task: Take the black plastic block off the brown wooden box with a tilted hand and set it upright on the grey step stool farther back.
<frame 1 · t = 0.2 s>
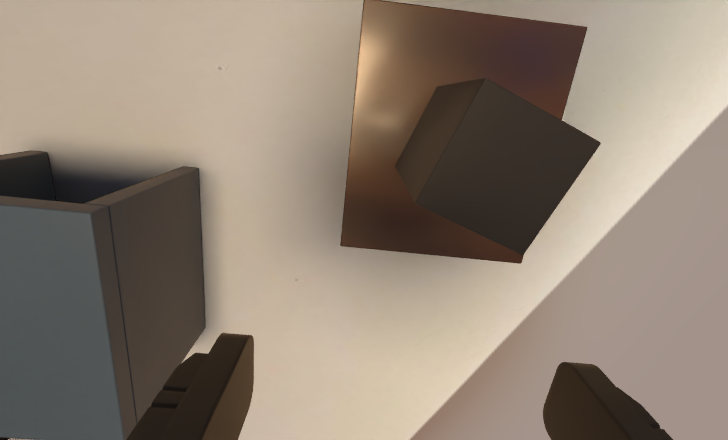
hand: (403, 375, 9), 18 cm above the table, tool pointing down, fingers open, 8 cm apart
black block: (452, 147, 21), point 5 cm above the table, touching brown wooden box
brown wooden box: (435, 138, 25), on the table
grey step stool: (126, 247, 28), on the table
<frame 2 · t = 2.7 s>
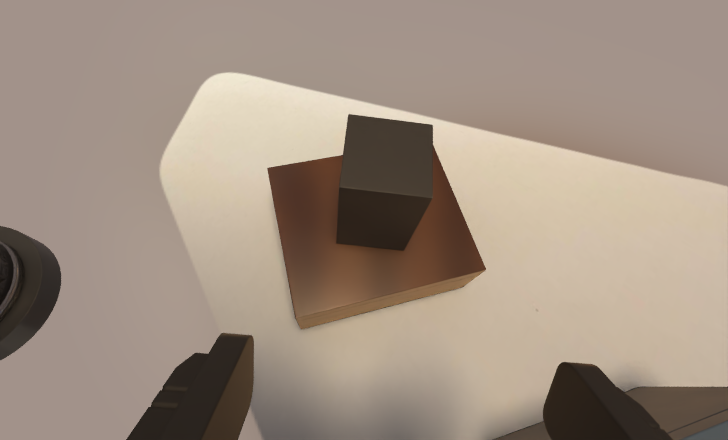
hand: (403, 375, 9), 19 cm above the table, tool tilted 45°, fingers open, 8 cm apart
black block: (372, 216, 27), point 5 cm above the table, touching brown wooden box
brown wooden box: (366, 241, 31), on the table
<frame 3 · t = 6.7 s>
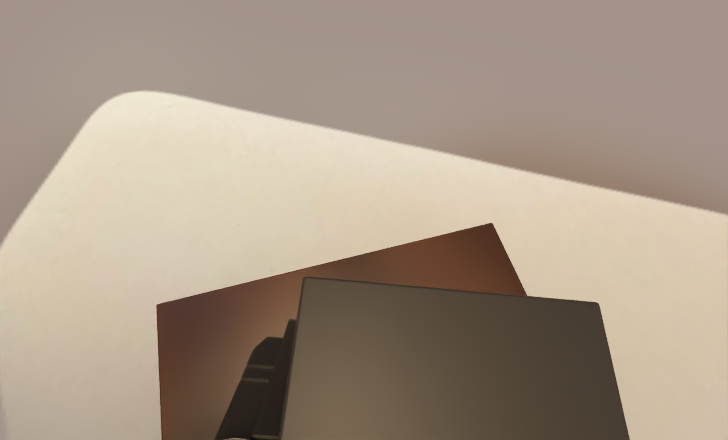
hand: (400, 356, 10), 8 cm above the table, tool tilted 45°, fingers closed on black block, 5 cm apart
black block: (383, 421, 12), point 5 cm above the table, touching gripper, brown wooden box
brown wooden box: (369, 413, 16), on the table
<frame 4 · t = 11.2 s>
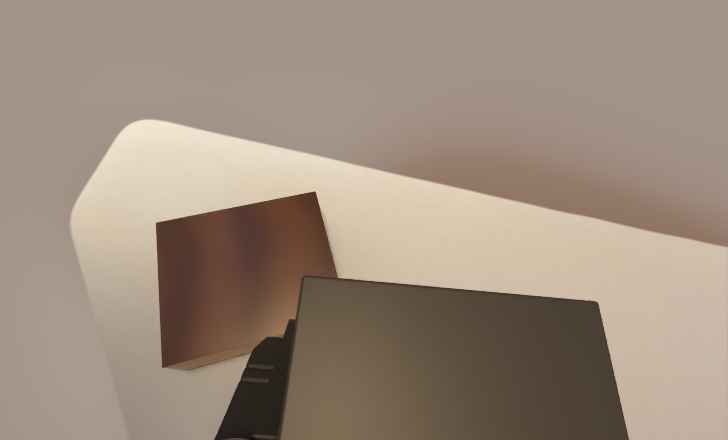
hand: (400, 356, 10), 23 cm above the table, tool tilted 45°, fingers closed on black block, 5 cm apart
black block: (383, 421, 12), point 20 cm above the table, touching gripper
brown wooden box: (259, 284, 34), on the table
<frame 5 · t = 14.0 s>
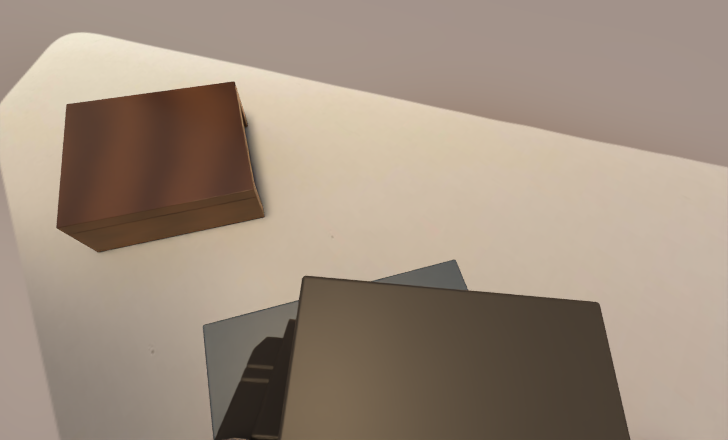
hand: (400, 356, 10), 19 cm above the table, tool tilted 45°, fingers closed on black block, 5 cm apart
black block: (383, 421, 12), point 16 cm above the table, touching gripper
brown wooden box: (180, 177, 33), on the table
grey step stool: (355, 402, 26), on the table
when the fingers open (14 cm above the table, at t = 15.9 s): black block stays where it is, resting on grey step stool.
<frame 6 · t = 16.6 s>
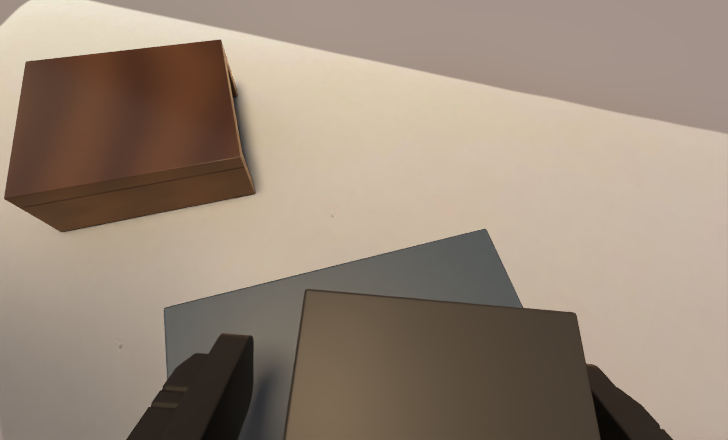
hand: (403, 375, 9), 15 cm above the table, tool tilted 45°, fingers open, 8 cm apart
black block: (381, 422, 12), point 11 cm above the table, touching grey step stool
brown wooden box: (159, 150, 29), on the table
grey step stool: (359, 406, 22), on the table
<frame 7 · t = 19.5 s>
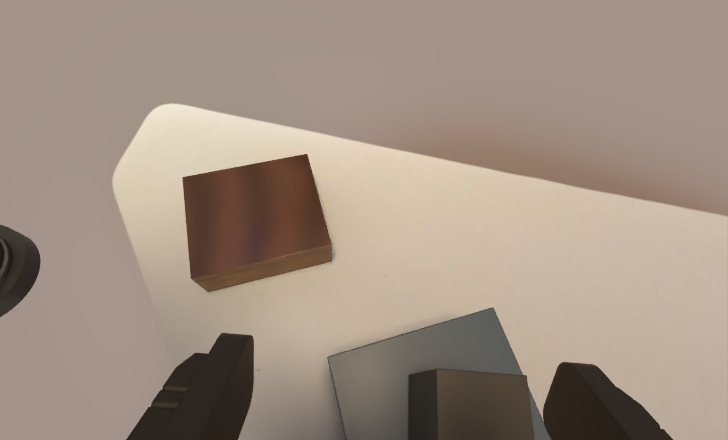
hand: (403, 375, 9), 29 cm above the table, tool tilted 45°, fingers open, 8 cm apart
black block: (442, 415, 25), point 11 cm above the table, touching grey step stool
brown wooden box: (263, 229, 42), on the table
grey step stool: (412, 407, 35), on the table
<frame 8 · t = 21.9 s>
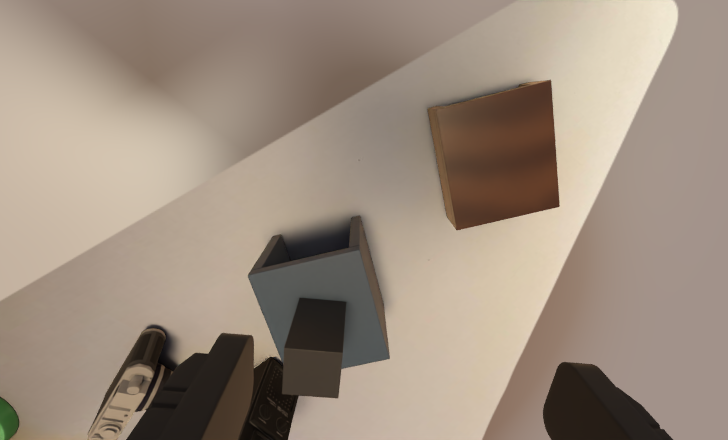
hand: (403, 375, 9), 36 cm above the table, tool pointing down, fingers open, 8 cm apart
black block: (321, 319, 38), point 11 cm above the table, touching grey step stool
portable radio: (277, 378, 55), on the table
brown wooden box: (485, 153, 43), on the table
camera: (160, 370, 54), on the table
grey step stool: (330, 272, 48), on the table
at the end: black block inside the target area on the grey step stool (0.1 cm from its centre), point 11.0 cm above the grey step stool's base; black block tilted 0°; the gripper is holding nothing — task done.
